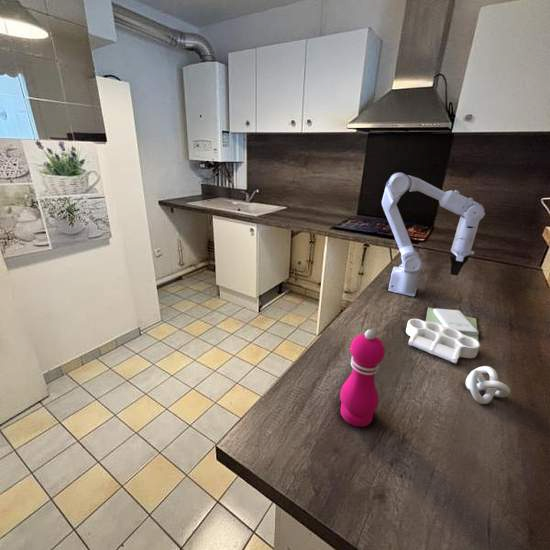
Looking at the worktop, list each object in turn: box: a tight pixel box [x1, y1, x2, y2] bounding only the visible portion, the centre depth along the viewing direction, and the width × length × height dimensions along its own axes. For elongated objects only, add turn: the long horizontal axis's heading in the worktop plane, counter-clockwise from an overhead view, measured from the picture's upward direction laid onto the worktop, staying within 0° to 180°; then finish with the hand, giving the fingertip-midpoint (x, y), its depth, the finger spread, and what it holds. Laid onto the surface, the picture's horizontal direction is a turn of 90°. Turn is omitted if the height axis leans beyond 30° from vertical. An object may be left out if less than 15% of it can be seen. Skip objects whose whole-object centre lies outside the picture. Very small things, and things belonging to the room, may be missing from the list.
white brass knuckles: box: [405, 318, 481, 364], centre depth 80 cm, size 3×18×15 cm
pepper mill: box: [339, 329, 386, 428], centre depth 55 cm, size 7×7×20 cm
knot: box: [465, 365, 511, 405], centre depth 63 cm, size 8×8×6 cm
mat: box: [425, 306, 479, 342], centre depth 91 cm, size 14×14×1 cm
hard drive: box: [433, 308, 480, 337], centre depth 90 cm, size 2×8×12 cm
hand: (453, 274), depth 105 cm, fingers closed
